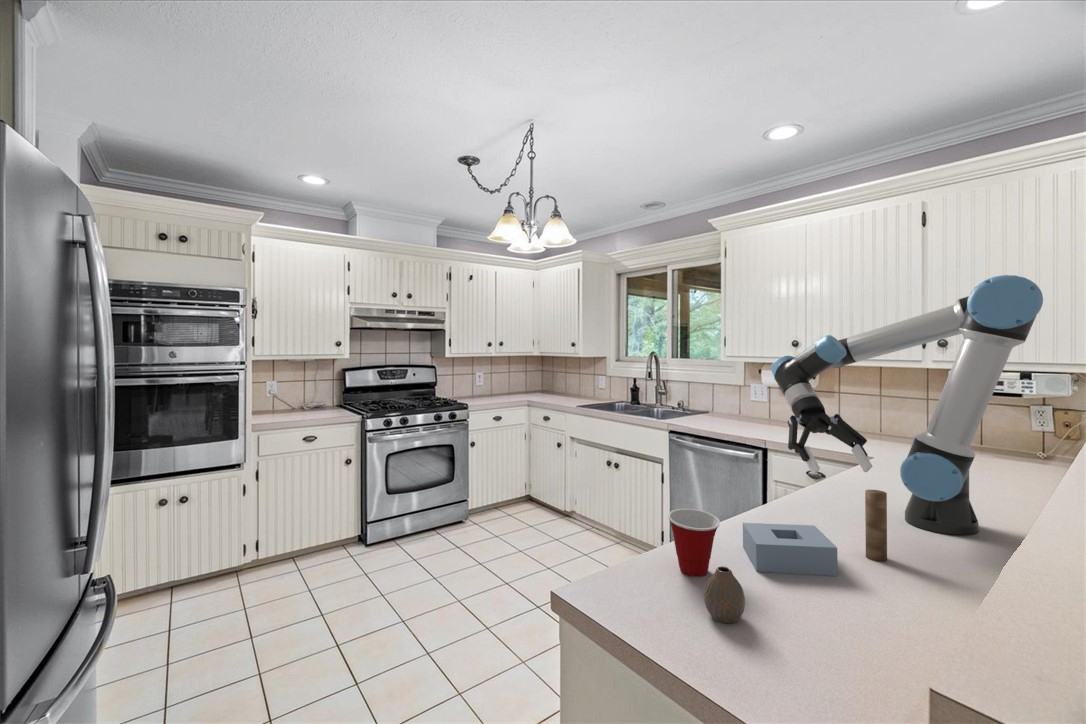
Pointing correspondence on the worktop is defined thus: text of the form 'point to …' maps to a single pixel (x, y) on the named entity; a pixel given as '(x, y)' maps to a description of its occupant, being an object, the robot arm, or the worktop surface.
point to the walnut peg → (876, 525)
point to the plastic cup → (693, 539)
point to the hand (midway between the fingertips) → (842, 470)
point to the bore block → (789, 549)
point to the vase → (724, 596)
